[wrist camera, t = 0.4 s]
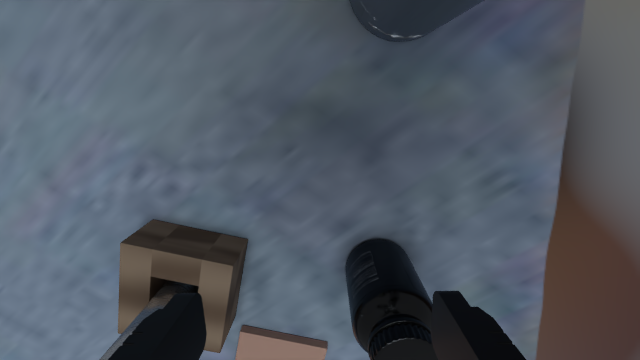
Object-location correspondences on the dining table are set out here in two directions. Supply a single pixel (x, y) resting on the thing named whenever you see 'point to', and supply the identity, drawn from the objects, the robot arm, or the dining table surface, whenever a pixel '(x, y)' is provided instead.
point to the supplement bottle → (388, 303)
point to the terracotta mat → (277, 346)
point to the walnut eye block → (182, 272)
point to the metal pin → (152, 309)
